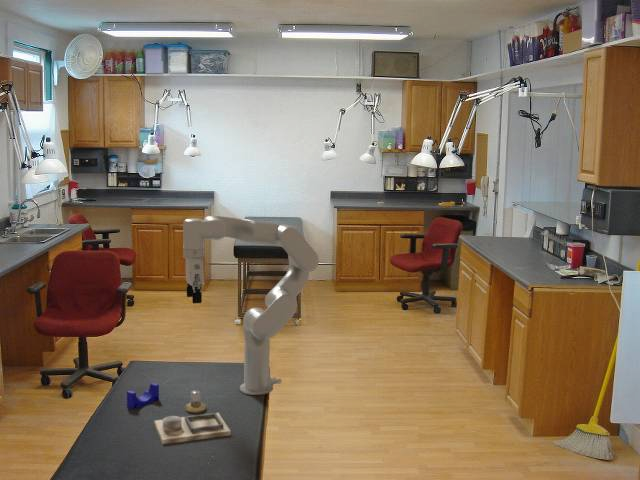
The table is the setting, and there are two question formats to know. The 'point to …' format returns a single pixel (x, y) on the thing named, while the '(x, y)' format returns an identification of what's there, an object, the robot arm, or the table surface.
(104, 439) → the table surface
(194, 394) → the gold and silver knob
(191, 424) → the carrier plate
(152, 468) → the table surface
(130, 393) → the cable clip
